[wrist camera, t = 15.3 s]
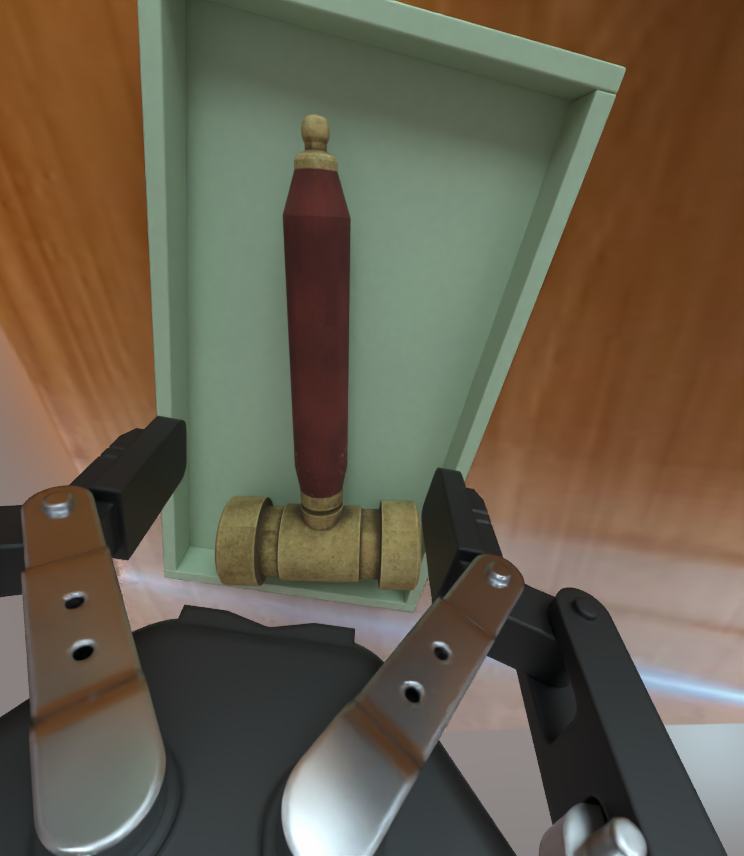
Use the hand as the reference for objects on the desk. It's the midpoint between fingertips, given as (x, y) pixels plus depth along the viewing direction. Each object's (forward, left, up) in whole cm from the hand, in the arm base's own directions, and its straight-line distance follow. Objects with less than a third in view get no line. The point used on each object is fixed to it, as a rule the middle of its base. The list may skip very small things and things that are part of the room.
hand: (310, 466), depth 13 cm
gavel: (0, 0, -8) cm, 8 cm away
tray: (0, 0, -8) cm, 8 cm away
